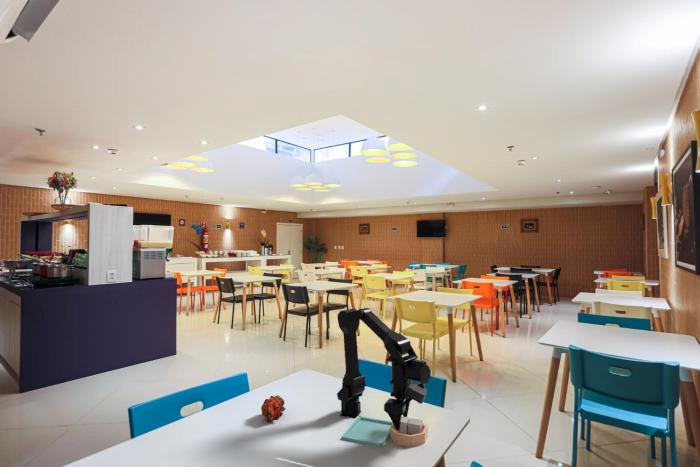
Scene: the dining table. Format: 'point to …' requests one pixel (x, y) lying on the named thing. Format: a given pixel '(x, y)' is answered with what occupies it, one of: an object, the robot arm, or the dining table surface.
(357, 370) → the robot arm
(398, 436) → the bowl
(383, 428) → the tray
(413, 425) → the cube
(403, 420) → the grey cardboard cube
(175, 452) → the dining table surface
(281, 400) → the dragon fruit
